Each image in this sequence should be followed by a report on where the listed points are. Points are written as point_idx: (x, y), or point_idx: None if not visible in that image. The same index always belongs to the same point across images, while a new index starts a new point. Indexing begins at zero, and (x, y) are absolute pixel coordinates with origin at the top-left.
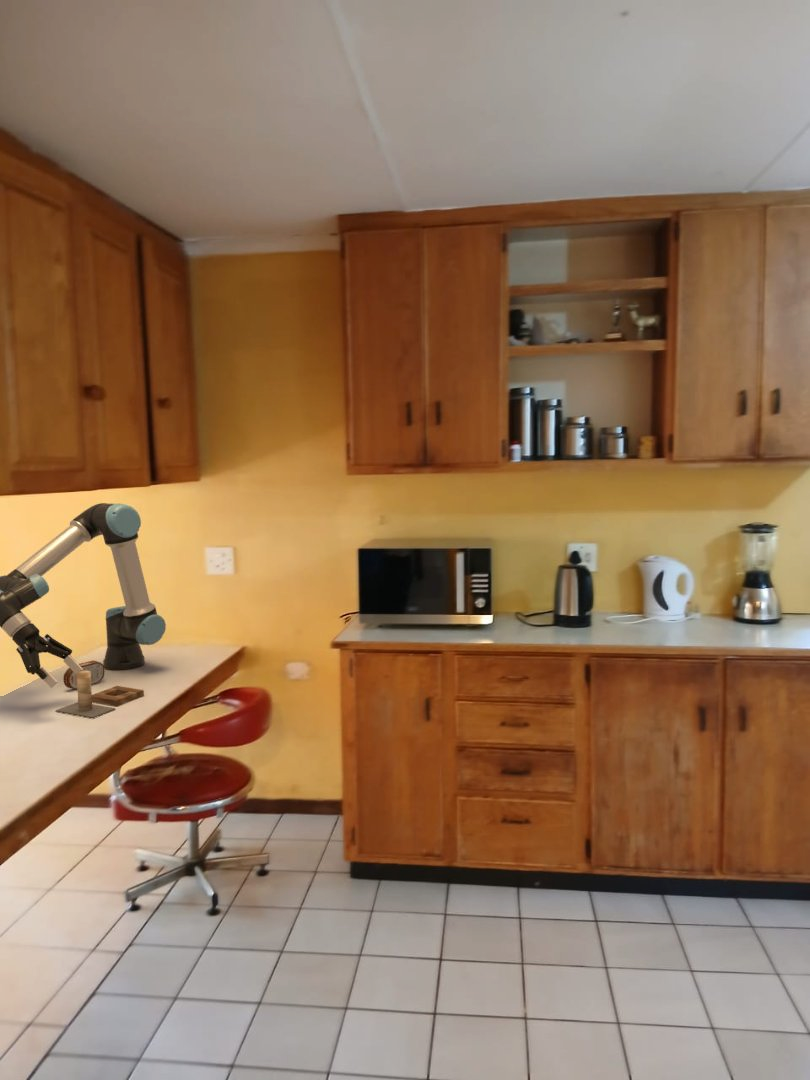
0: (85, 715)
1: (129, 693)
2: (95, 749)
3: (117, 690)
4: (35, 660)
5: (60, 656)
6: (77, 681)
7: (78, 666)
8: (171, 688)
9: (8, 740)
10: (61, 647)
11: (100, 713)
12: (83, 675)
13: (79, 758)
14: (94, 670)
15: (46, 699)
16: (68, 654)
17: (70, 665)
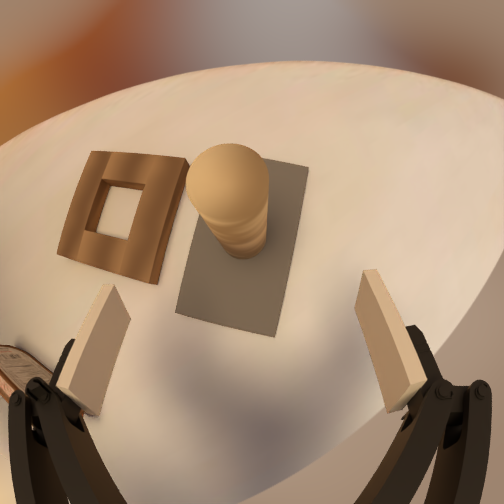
0: (300, 197)
1: (118, 165)
2: (437, 88)
3: (86, 228)
4: (430, 458)
5: (89, 441)
6: (262, 215)
7: (104, 305)
8: (58, 138)
9: (480, 290)
10: (34, 461)
11: (272, 164)
12: (261, 160)
13: (468, 100)
14: (8, 362)
15: (168, 437)
16: (55, 395)
17: (106, 361)
